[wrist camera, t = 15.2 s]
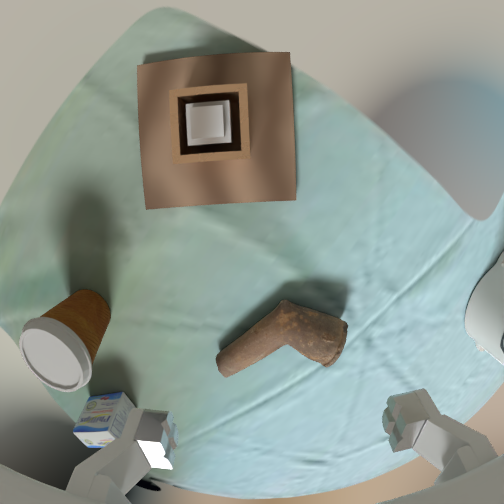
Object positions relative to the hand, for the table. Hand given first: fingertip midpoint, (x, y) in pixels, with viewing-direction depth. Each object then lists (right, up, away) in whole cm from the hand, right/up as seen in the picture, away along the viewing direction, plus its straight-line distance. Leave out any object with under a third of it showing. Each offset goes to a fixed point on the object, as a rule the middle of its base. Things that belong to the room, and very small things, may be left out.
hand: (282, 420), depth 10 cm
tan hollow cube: (-5, +19, +20) cm, 27 cm away
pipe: (+3, -5, +30) cm, 31 cm away
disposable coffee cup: (-23, -2, +28) cm, 36 cm away
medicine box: (-24, -19, +34) cm, 45 cm away
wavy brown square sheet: (-5, +19, +21) cm, 29 cm away
